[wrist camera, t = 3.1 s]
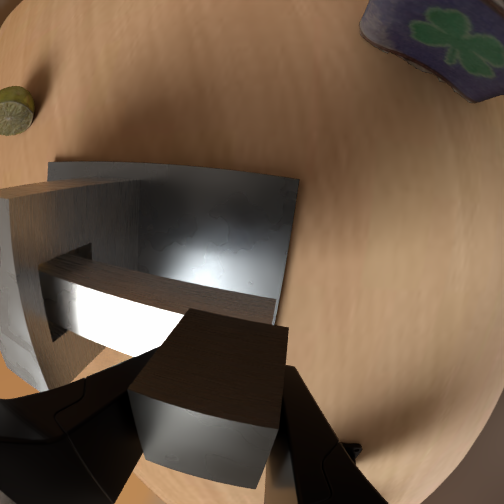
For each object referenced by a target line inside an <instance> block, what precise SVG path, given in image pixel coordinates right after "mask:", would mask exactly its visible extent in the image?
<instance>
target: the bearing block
mask: <svg viewBox="0 0 504 504" xmlns="http://www.w3.org/2000/svg"><path fill="white" fill-rule="evenodd" d="M298 185H299V179H293V178H287V177H280V176H274V175H267V174H259V173H252V172H244V171H236V170H227V169H218V168H208V167H197V166H185V165H172V164H156V163H136V162H96V161H78V162H48V180H47V182H41V183H34V184H27V185H21V186H15V187H9V188H3V189H0V350H1V353H2V356H3V358H4V361H5V363H6V366H7V367H8V368H9V369H11V371H13V372H14V373H15V374H17V375H18V376H19V377H20V378H22V379H23V380H24V381H26V382H27V383H29V384H30V385H31V386H33V387H34V388H35V389H37V390H38V391H40V392H43V391H47V390H50V389H54V388H57V387H61V386H63V385H66V384H69V383H70V382H71V381H72V380H73V379H74V378H75V377H76V376H77V375H78V374H79V373H80V372H81V371H82V370H83V369H84V368H85V367H86V366H87V365H88V364H89V363H90V362H91V361H92V360H93V359H94V358H95V357H96V356H97V355H98V354H99V353H100V352H101V351H102V350H103V349H105V348H106V347H107V346H105V345H102V344H100V343H97V342H95V341H92V340H90V339H87V338H85V337H83V336H80V335H78V334H76V333H74V332H71V331H69V330H67V329H65V328H63V327H61V326H59V325H56V324H54V323H52V322H50V321H48V320H47V317H46V313H45V308H44V303H43V298H42V292H41V286H40V280H39V273H38V265H39V264H42V263H44V262H46V261H48V260H50V259H53V258H55V257H57V256H60V255H62V254H64V253H68V254H71V255H75V256H79V257H83V258H87V259H91V260H95V261H99V262H103V263H107V264H111V265H115V266H119V267H123V268H127V269H131V270H136V271H140V272H144V273H149V274H153V275H157V276H162V277H166V278H171V279H176V280H180V281H185V282H190V283H195V284H199V285H204V286H209V287H214V288H219V289H224V290H229V291H235V292H240V293H245V294H251V295H256V296H262V297H267V298H273V299H276V304H275V310H274V315H273V321H272V325H274V324H275V319H276V313H277V308H278V303H279V298H280V292H281V287H282V282H283V276H284V270H285V265H286V259H287V253H288V247H289V242H290V236H291V230H292V223H293V217H294V211H295V205H296V198H297V192H298Z"/></svg>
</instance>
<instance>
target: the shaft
mask: <svg viewBox="0 0 504 504" xmlns="http://www.w3.org/2000/svg"><path fill="white" fill-rule="evenodd" d="M38 273H39V280H40V286H41V292H42V298H43V303H44V308H45V313H46V317H47V320H48V321H50V322H52V323H54V324H56V325H59V326H61V327H63V328H65V329H67V330H69V331H71V332H74V333H76V334H78V335H80V336H83V337H85V338H87V339H90V340H92V341H95V342H97V343H100V344H102V345H105V346H107V347H110V348H112V349H115V350H118V351H120V352H123V353H126V354H128V355H131V356H134V357H135V356H138V355H140V354H142V353H144V352H147V351H149V350H151V349H153V348H156V347H158V346H160V345H161V346H160V347H159V348H158V349H157V351H156V352H155V353H154V355H153V356H152V357H151V359H150V360H149V361H148V363H147V364H146V365H145V366H144V368H143V369H142V370H141V372H140V373H139V374H138V376H137V377H136V378H135V380H134V381H133V382H132V384H131V385H130V386H129V387H128V389H127V390H128V395H129V399H130V404H131V408H132V412H133V417H134V421H135V425H136V428H137V432H138V436H139V439H140V443H141V446H142V450H143V453H144V456H145V459H146V460H148V461H151V462H153V463H156V464H159V465H162V466H164V467H167V468H170V469H173V470H176V471H180V472H183V473H186V474H189V475H193V476H196V477H200V478H204V479H208V480H212V481H216V482H220V483H225V484H229V485H234V486H239V487H245V488H251V489H256V487H257V485H258V482H259V480H260V477H261V475H262V472H263V470H264V467H265V465H266V462H267V460H268V457H269V454H270V452H271V449H272V446H273V443H274V441H275V438H276V435H277V432H278V429H279V422H280V413H281V404H282V395H283V386H284V376H285V365H286V354H287V343H288V331H289V327H283V326H277V325H272V321H273V315H274V310H275V304H276V299H273V298H267V297H262V296H256V295H251V294H245V293H240V292H235V291H229V290H224V289H219V288H214V287H209V286H204V285H199V284H195V283H190V282H185V281H180V280H176V279H171V278H166V277H162V276H157V275H153V274H149V273H144V272H140V271H136V270H131V269H127V268H123V267H119V266H115V265H111V264H107V263H103V262H99V261H95V260H91V259H87V258H83V257H79V256H75V255H71V254H68V253H64V254H62V255H60V256H57V257H55V258H53V259H50V260H48V261H46V262H44V263H42V264H39V265H38Z"/></svg>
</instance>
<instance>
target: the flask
mask: <svg viewBox="0 0 504 504" xmlns="http://www.w3.org/2000/svg"><path fill="white" fill-rule="evenodd" d="M359 26H360V35H361V36H362V37H363V38H364V39H366V40H367V41H368V42H369V43H371V44H372V45H373V46H375V47H377V48H379V50H382V51H383V52H385V53H388V52H391V53H393V54H395V55H396V56H399V57H400V58H402V59H403V60H406V61H407V62H408V63H409V64H410V65H413V66H414V67H415V68H416V69H420V70H421V71H422V72H428V73H433V74H434V75H436V76H437V77H438V79H439V82H440V81H441V82H444V83H447V84H448V85H450V86H451V87H452V88H453V90H454V92H457V93H459V94H460V95H461V96H462V97H463V98H465V99H466V100H467V101H468V102H469V103H477V102H481V101H484V100H487V99H490V98H493V97H496V96H500V95H504V0H369V4H368V5H367V8H366V10H365V13H364V15H363V17H362V19H361V21H360V24H359Z"/></svg>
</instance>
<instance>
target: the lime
mask: <svg viewBox="0 0 504 504" xmlns="http://www.w3.org/2000/svg"><path fill="white" fill-rule="evenodd" d="M34 110H35V106H34V101H33V98H32V96H31V94H30V92H28V91H27V90H26V89H25V88H23V87H20V86H11V87H7V88H4V89H2V90H0V135H5V136H9V135H16V134H20V133H22V132H24V131H25V130H26V129H27V128H28V127H29V126H30V125H31V123H32V119H33V115H34Z"/></svg>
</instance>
